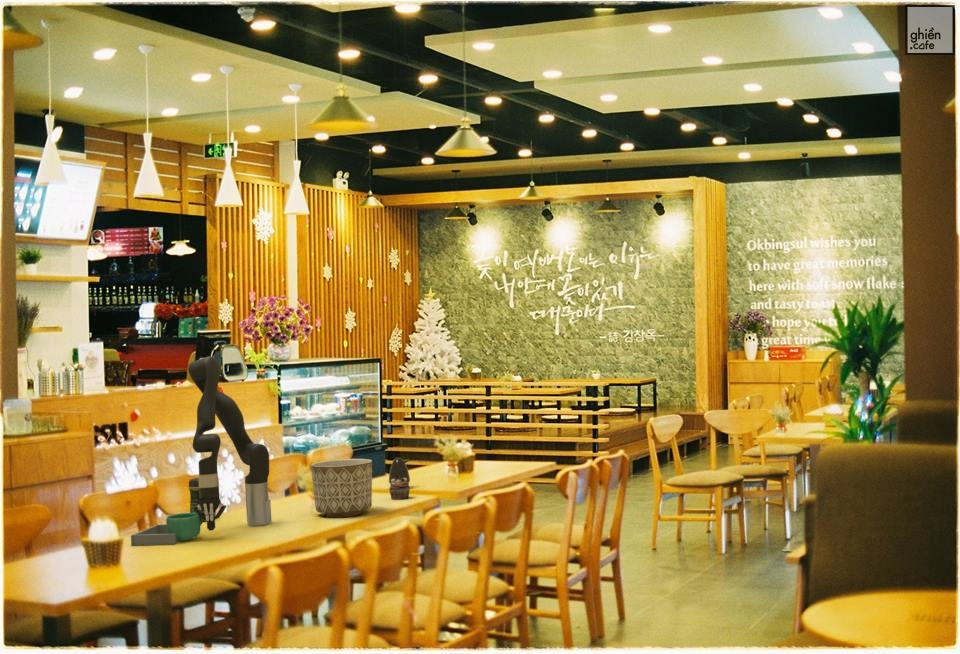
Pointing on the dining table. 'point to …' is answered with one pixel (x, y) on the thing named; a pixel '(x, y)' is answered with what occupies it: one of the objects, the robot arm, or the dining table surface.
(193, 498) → the coffee jar
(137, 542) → the tray
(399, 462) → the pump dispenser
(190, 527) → the mug
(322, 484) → the planter
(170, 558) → the dining table surface
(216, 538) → the dining table surface
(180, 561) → the dining table surface
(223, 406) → the robot arm
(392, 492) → the cupcake
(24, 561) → the dining table surface
